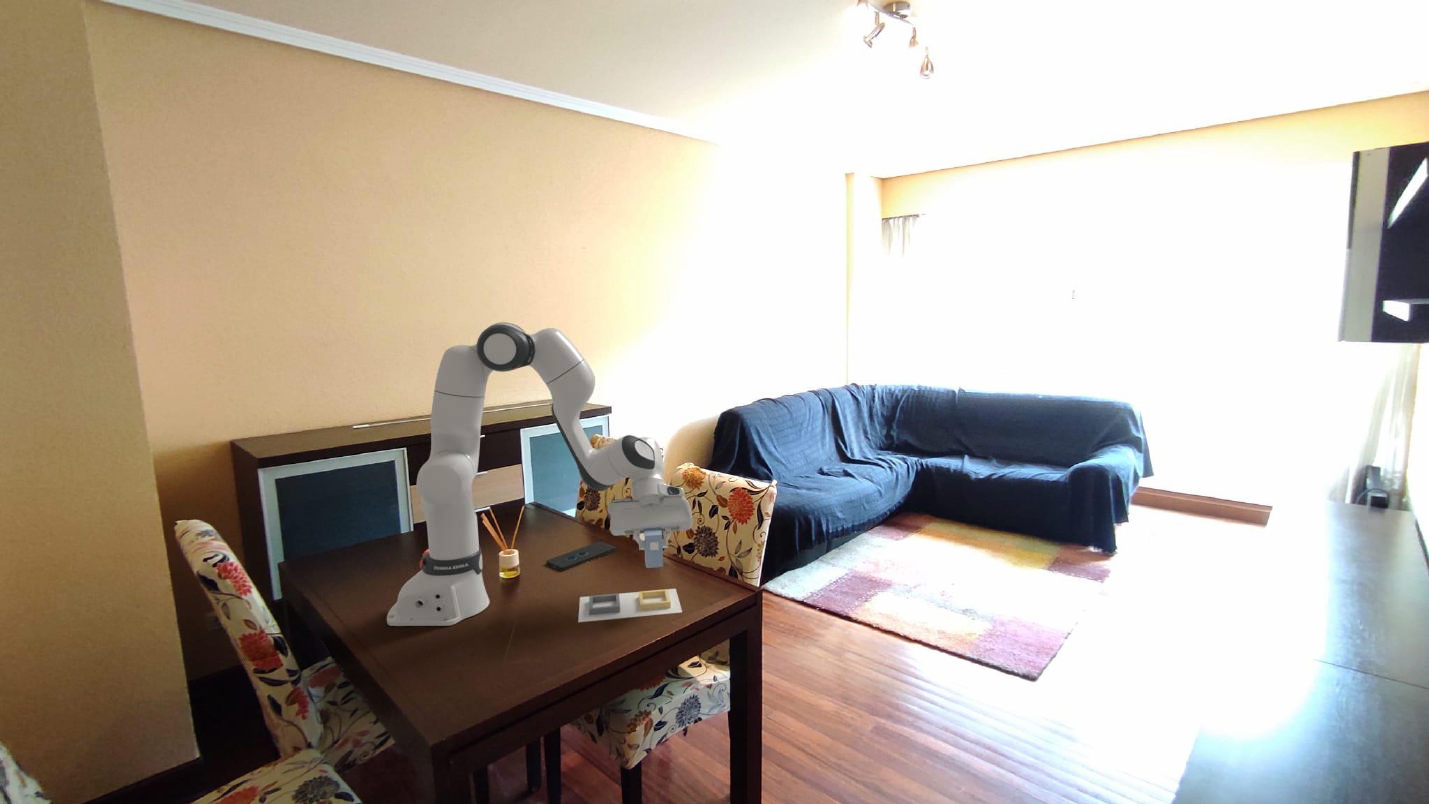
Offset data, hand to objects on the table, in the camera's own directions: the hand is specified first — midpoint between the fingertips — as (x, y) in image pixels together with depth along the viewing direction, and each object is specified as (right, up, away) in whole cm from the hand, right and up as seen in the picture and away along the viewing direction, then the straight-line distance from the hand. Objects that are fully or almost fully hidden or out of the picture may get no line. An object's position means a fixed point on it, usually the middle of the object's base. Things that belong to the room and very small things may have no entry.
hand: (653, 548), depth 149 cm
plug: (0, -4, +1) cm, 4 cm away
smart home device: (-24, -11, +33) cm, 42 cm away
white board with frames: (-6, -15, +2) cm, 16 cm away
